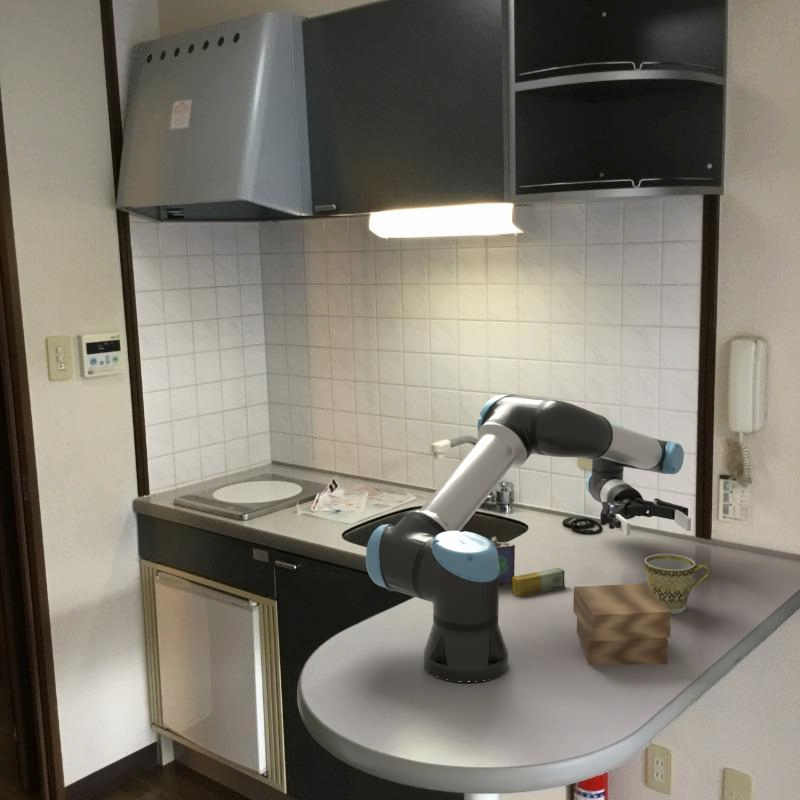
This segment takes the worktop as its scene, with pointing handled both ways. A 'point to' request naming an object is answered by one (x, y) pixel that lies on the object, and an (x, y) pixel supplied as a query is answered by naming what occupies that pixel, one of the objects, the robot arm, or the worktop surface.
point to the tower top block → (621, 612)
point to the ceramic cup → (672, 579)
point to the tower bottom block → (623, 650)
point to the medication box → (538, 582)
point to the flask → (505, 561)
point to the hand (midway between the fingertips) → (659, 527)
